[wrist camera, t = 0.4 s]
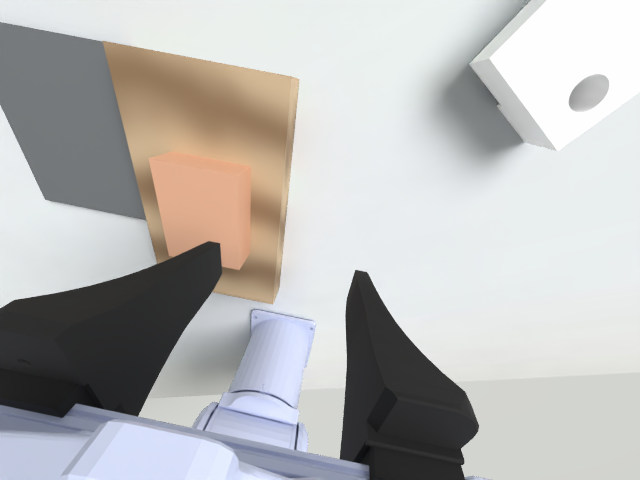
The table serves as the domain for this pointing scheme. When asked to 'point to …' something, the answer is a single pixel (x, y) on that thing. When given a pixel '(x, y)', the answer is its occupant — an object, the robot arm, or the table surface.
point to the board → (212, 143)
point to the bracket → (563, 66)
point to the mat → (67, 119)
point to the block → (204, 204)
